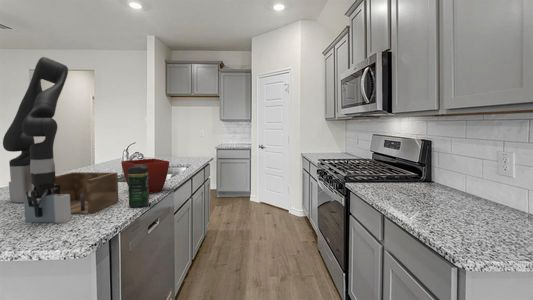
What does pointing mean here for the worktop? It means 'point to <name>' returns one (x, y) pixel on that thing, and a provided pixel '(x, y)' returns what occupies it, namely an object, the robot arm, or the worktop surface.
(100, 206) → the open wooden box
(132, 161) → the plant pot
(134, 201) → the coffee jar
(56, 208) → the grey rectangular block
